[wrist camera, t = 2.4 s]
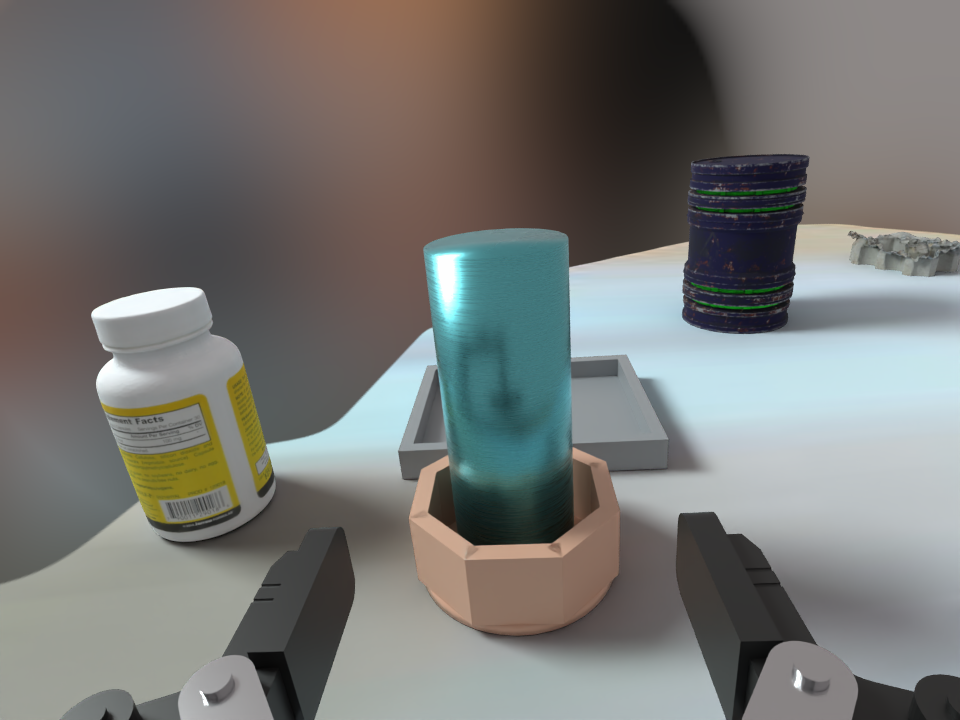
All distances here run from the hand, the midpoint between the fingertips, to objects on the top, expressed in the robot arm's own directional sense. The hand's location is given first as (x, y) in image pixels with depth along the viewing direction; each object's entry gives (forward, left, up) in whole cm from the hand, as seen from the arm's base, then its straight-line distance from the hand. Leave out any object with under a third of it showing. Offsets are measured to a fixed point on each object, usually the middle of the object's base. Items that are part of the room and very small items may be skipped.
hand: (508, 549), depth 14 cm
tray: (+1, +25, -10) cm, 27 cm away
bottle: (0, +11, -10) cm, 15 cm away
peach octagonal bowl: (0, +11, -10) cm, 15 cm away
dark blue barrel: (+22, +44, -11) cm, 51 cm away
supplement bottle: (-18, +16, -11) cm, 27 cm away
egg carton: (+47, +59, -11) cm, 76 cm away
